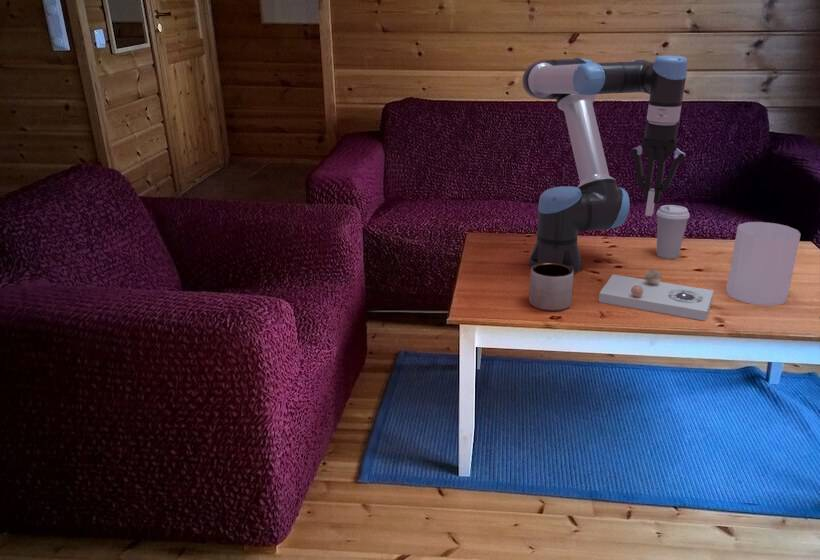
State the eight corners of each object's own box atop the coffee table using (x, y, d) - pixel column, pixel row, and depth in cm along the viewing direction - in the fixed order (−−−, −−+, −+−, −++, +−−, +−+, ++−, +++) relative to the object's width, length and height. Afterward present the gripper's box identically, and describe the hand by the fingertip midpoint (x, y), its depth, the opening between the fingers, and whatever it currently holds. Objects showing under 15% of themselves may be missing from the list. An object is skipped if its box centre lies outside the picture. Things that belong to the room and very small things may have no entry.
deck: (598, 301, 175) (599, 293, 174) (611, 282, 188) (612, 274, 187) (705, 320, 164) (707, 311, 163) (712, 299, 176) (713, 290, 175)
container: (730, 281, 187) (741, 219, 181) (788, 290, 181) (801, 226, 174) (723, 299, 176) (734, 233, 169) (785, 309, 169) (799, 242, 162)
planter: (562, 315, 168) (565, 279, 164) (522, 306, 173) (524, 272, 170) (577, 300, 177) (579, 266, 173) (538, 292, 182) (540, 259, 178)
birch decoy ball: (643, 285, 179) (644, 271, 178) (646, 280, 182) (647, 266, 181) (658, 287, 177) (660, 273, 176) (661, 282, 180) (663, 268, 179)
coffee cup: (656, 248, 214) (662, 202, 209) (687, 253, 209) (694, 207, 203) (647, 256, 207) (652, 209, 201) (678, 262, 202) (685, 214, 196)
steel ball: (678, 289, 171) (692, 293, 170) (677, 291, 174) (691, 295, 173) (674, 302, 171) (688, 306, 170) (673, 304, 174) (687, 308, 173)
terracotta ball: (629, 297, 171) (630, 286, 170) (631, 293, 174) (633, 282, 173) (641, 299, 170) (642, 288, 169) (643, 295, 172) (645, 284, 171)
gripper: (631, 122, 164) (620, 214, 174) (688, 127, 158) (673, 222, 168) (638, 117, 170) (626, 206, 180) (692, 122, 164) (678, 214, 174)
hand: (649, 214), depth 174 cm, fingers closed
